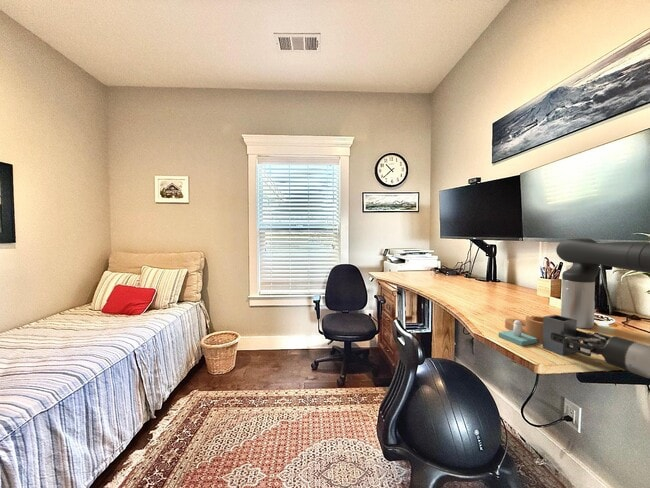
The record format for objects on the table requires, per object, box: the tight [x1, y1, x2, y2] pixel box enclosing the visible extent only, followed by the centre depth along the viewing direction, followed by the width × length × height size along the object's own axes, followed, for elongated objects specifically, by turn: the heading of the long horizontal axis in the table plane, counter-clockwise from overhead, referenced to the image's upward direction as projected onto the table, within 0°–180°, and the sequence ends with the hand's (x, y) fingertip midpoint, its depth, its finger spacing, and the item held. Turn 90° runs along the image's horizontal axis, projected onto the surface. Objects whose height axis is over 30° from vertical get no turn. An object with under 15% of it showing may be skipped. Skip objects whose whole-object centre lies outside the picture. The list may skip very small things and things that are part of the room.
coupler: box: [542, 314, 578, 357], centre depth 83 cm, size 6×6×10 cm
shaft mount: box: [498, 320, 538, 347], centre depth 91 cm, size 7×8×7 cm
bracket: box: [504, 315, 544, 345], centre depth 97 cm, size 18×8×7 cm, turn 4°
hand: (561, 333), depth 82 cm, fingers open, 8 cm apart
